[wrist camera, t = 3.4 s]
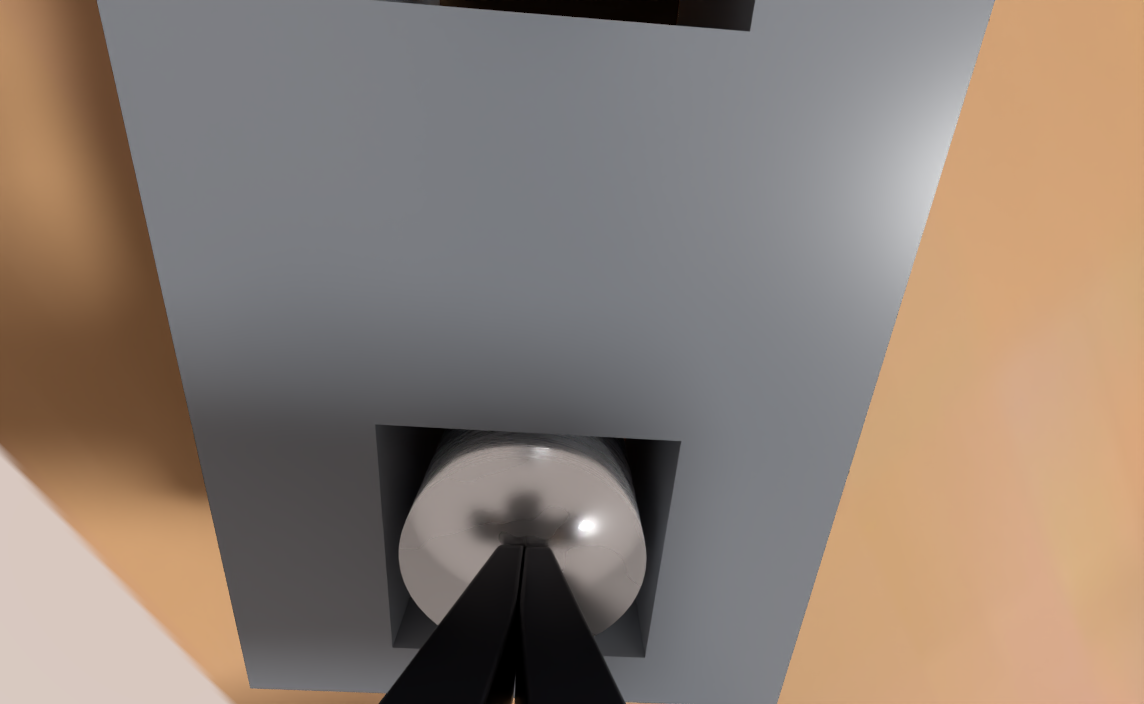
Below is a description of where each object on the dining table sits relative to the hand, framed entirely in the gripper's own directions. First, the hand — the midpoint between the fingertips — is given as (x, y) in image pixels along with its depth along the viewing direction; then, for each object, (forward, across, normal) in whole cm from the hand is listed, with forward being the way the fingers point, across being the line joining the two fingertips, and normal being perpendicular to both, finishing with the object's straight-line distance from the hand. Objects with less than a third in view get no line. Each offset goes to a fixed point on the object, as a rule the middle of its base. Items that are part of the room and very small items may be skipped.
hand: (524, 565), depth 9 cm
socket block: (+5, 0, -5) cm, 7 cm away
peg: (+5, 0, 0) cm, 5 cm away
